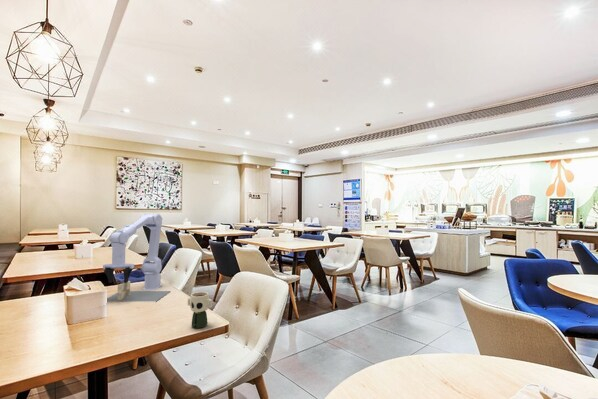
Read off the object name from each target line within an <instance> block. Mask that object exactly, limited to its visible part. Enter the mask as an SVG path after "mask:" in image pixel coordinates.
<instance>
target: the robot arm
mask: <svg viewBox="0 0 598 399" xmlns="http://www.w3.org/2000/svg"><path fill="white" fill-rule="evenodd" d="M162 223H163V217H162V216H161V214H160V213H143V214H142V215H140V218H138V220H136V221H135V222H134V223H132V224H126V225H125V226H124V227H123V228H121V229H119V230H118V231H117V232H113V233H111V235H110V237H109V238H108V240H109V243H110V244H111V247H112V248H111V250H112V254H111V259H112V260H111V263H105V264H102V269H103V273H104V274H105V276H106V277H107V281H108V283H109V284H111V283H113V282H114V281H113V280H114V271H115V269H122V272H123V283H127V282H128V281H129V279H130V275H131V273H132V271H133V270H134V268H135V264H134V263H126V243H128V241H129V239H130V238H131V237H132V236H134V235H135V234H137V230H139V229H141V228H142V227H143V226H145V227H147V228H149V230H150V235H149V243H148V252H147V256H146V258H144V259H143V262H142V264H141V272H142V273H143V274H144V287H143V288H141V291H157V289H159V288H161V287H162V286H163V285H162V284H161V282H162V281H161V279H162V277H161V273H160V272H161V271H162V268H163V265H162V259H161V258H160V257H158V256H159V247H160V242H161V241H160V239H161V231H162Z"/></svg>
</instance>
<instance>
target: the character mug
mask: <svg viewBox="0 0 598 399" xmlns="http://www.w3.org/2000/svg"><path fill="white" fill-rule="evenodd" d="M187 306H189V307H190V311H192V319H191V327H192V328H197V329H198V328H204V327H206V326H207V325H208V323H209V321H208V316H207V311H208V310H209V308H212V307H213V300H212V299H211V298H210V294H209V292H208V291H196V292H193V293H191V294H190V297H188V298H187ZM195 326H196V327H195Z"/></svg>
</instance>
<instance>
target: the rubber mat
mask: <svg viewBox="0 0 598 399" xmlns="http://www.w3.org/2000/svg"><path fill="white" fill-rule="evenodd" d="M170 293H171V291H170V290H130V295H129V296H127V297H125V298H123V299H121V300H118V299H117V298H118V292H116V293H115V294H112V295H110V296H109V297H106V298H107V302H109V303H112V302H122V303H123V302H126V303H127V302H129V303H130V302H155V303H157V302H159V301H160V300H162V299H163V298H164V297H166V296H167V295H169V294H170ZM161 298H162V299H161Z"/></svg>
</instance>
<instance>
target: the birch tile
mask: <svg viewBox="0 0 598 399" xmlns="http://www.w3.org/2000/svg"><path fill="white" fill-rule="evenodd" d="M130 291H131V280H128V282H127V283H124V282H122V283H120V284H118V285H117V293H118V298H117V299H118V300H121V299H123V298H125V297H127V296H129V295H130Z"/></svg>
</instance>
